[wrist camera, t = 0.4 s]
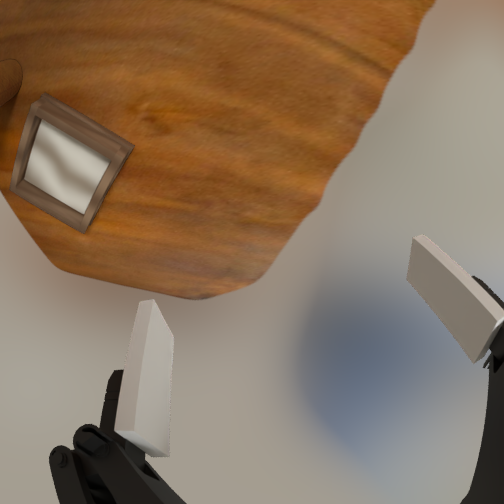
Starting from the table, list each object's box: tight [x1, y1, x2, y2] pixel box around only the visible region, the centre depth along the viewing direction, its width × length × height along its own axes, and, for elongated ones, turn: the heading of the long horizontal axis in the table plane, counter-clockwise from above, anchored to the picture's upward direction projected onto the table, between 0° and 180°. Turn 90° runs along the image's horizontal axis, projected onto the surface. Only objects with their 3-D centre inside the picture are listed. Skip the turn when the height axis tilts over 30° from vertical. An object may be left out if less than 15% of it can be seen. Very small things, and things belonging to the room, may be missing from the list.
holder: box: [9, 93, 135, 234], centre depth 31 cm, size 16×16×4 cm
